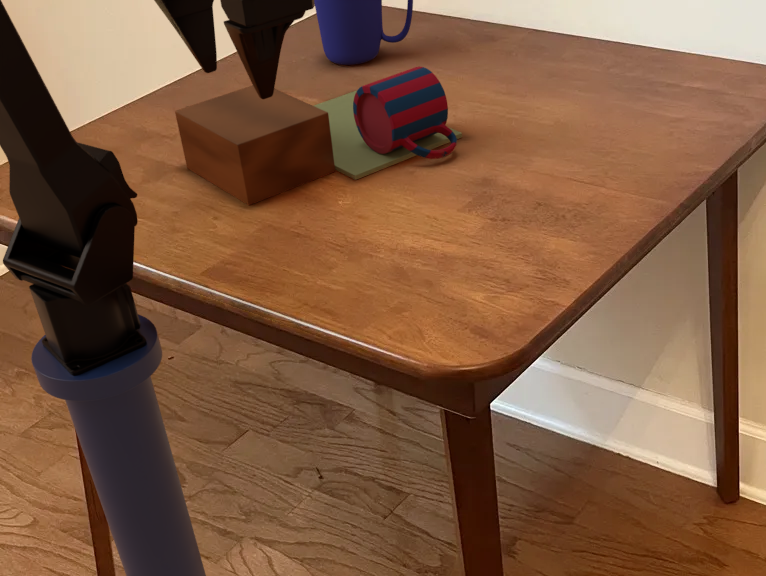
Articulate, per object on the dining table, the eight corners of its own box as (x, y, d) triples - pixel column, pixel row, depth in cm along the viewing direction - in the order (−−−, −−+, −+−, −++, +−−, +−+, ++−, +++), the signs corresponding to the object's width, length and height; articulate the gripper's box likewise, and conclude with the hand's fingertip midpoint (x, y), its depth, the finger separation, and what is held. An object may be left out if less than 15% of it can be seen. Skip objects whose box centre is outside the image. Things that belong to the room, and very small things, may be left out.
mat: (355, 180, 98) (354, 175, 98) (256, 130, 110) (256, 125, 110) (462, 137, 105) (462, 132, 104) (358, 94, 116) (357, 89, 116)
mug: (418, 65, 122) (412, -23, 116) (317, 72, 123) (306, -16, 116) (417, 42, 129) (412, -43, 122) (321, 49, 129) (311, -35, 123)
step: (248, 205, 96) (237, 144, 92) (186, 168, 103) (174, 110, 100) (335, 171, 100) (328, 112, 97) (270, 138, 108) (261, 82, 104)
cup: (349, 128, 104) (401, 108, 107) (409, 187, 100) (461, 165, 103) (356, 71, 98) (411, 53, 101) (420, 132, 95) (475, 111, 98)
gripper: (360, -127, 75) (379, 84, 85) (230, -150, 87) (260, 36, 97) (230, -96, 70) (265, 124, 80) (111, -126, 82) (154, 68, 92)
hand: (237, 84), depth 87 cm, fingers open, 9 cm apart
